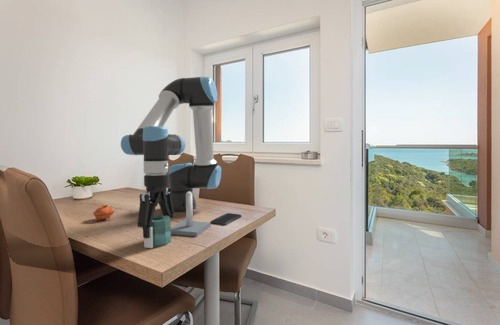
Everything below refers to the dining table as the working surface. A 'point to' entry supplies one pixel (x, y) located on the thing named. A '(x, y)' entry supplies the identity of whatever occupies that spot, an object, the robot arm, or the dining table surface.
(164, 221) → the bead
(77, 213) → the dining table surface
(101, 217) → the pot
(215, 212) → the dining table surface
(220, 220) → the phone
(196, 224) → the spindle plate
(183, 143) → the robot arm
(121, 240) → the dining table surface
